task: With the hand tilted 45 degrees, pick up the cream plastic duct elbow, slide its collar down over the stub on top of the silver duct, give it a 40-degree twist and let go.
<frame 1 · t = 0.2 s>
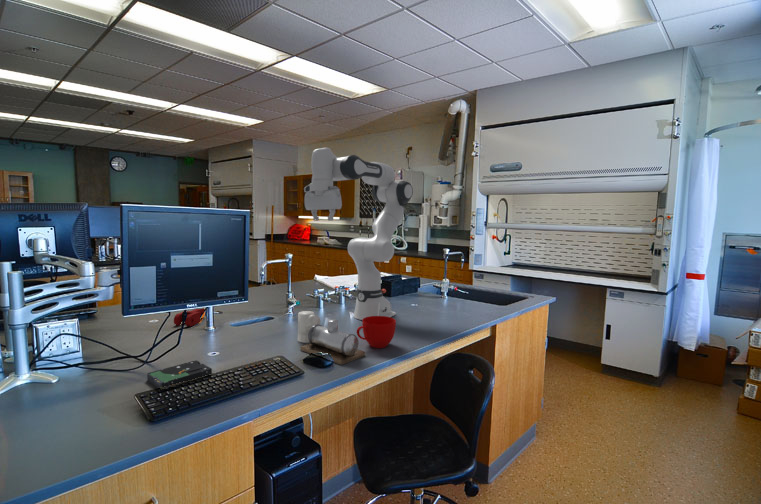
hand: (323, 220, 166), 47 cm above the lab bench, tool pointing down, fingers open, 8 cm apart
ceramic cup: (374, 346, 152), on the lab bench
dark red rounded piece: (192, 322, 178), on the lab bench
duct elbow: (306, 340, 157), on the lab bench
disk drive: (180, 379, 119), on the lab bench
duct: (332, 352, 144), on the lab bench
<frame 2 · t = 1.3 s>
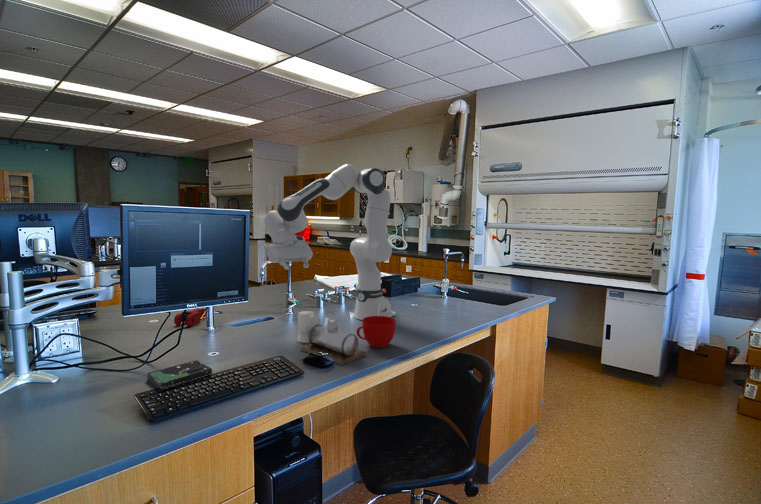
hand: (297, 267, 164), 27 cm above the lab bench, tool tilted 45°, fingers open, 8 cm apart
nothing on the lab bench moved.
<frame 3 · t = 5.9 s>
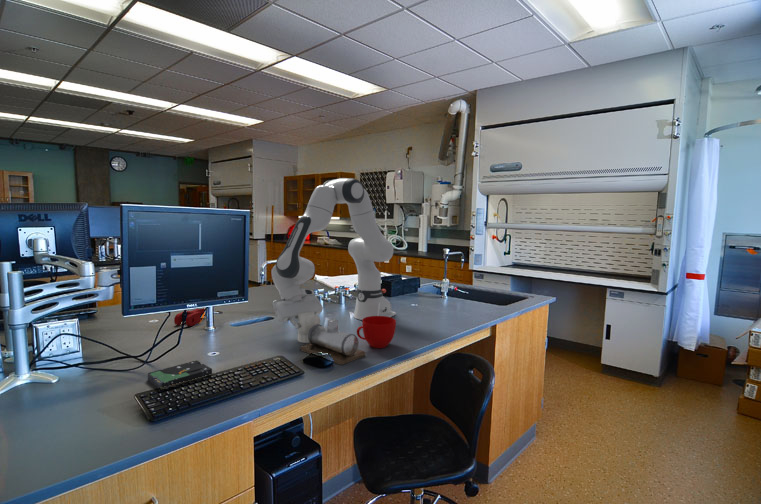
hand: (307, 326, 156), 6 cm above the lab bench, tool tilted 45°, fingers closed on duct elbow, 6 cm apart
duct elbow: (305, 340, 157), on the lab bench, touching gripper
everything else where it was.
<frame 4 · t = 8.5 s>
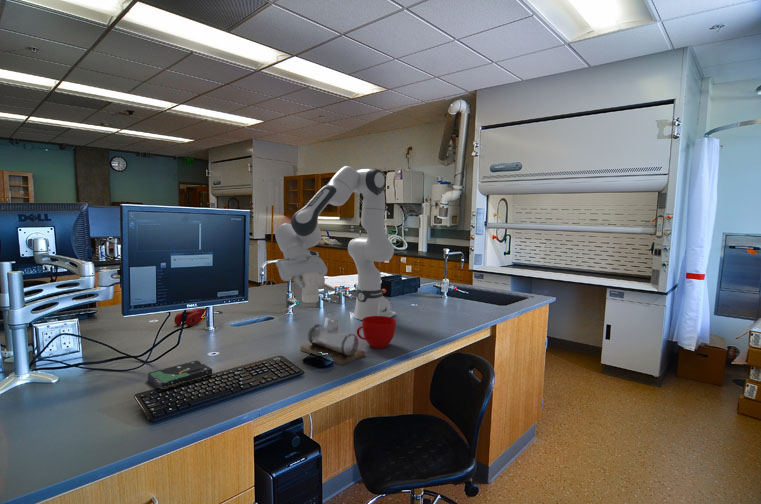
hand: (311, 286, 152), 22 cm above the lab bench, tool tilted 45°, fingers closed on duct elbow, 6 cm apart
duct elbow: (310, 300, 153), point 16 cm above the lab bench, touching gripper
everything else where it was.
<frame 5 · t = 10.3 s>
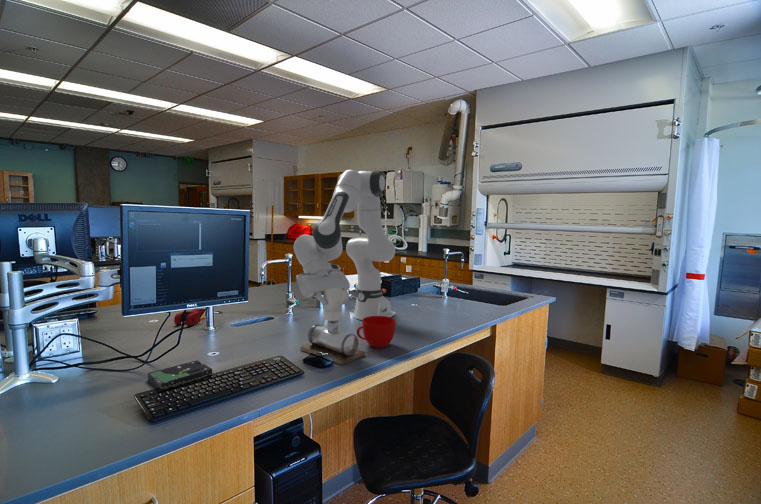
hand: (334, 302, 141), 19 cm above the lab bench, tool tilted 45°, fingers closed on duct elbow, 6 cm apart
duct elbow: (332, 318, 142), point 13 cm above the lab bench, touching gripper
everything else where it was.
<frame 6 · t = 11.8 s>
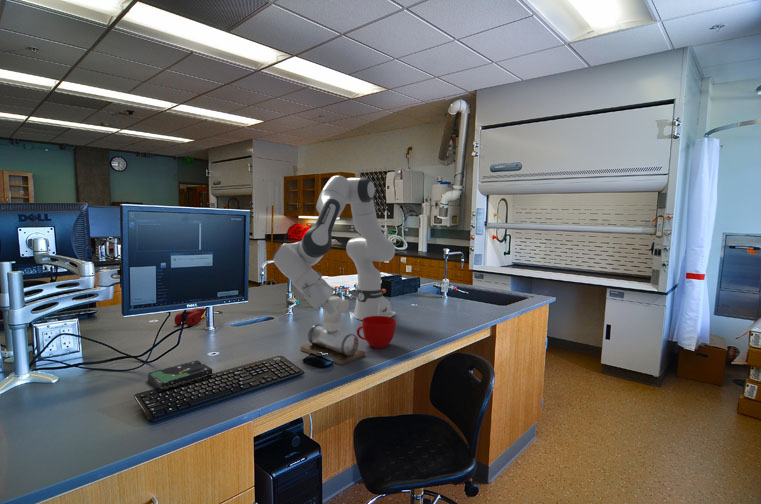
hand: (334, 310, 142), 16 cm above the lab bench, tool tilted 45°, fingers closed on duct elbow, 6 cm apart
duct elbow: (331, 328, 143), point 9 cm above the lab bench, touching duct, gripper
everything else where it was.
when the fingers open (15 cm above the lab bench, at t = 12.7 s): duct elbow stays where it is, resting on duct.
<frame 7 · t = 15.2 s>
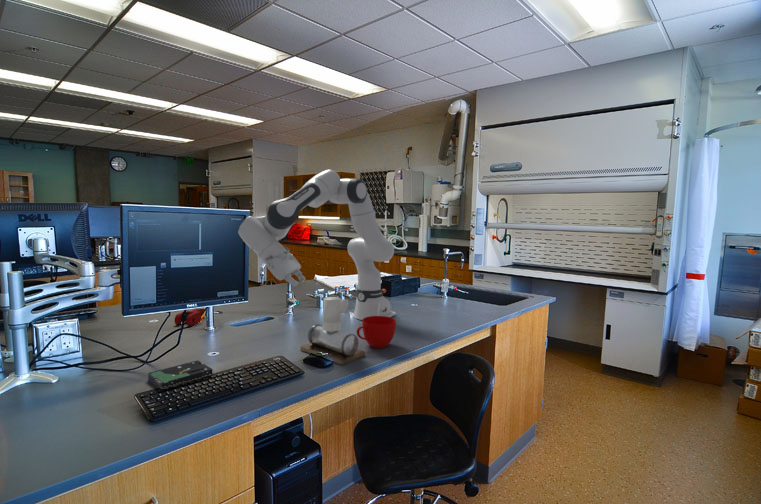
hand: (300, 283, 142), 25 cm above the lab bench, tool tilted 45°, fingers open, 8 cm apart
duct elbow: (331, 328, 143), point 9 cm above the lab bench, touching duct
everything else where it was.
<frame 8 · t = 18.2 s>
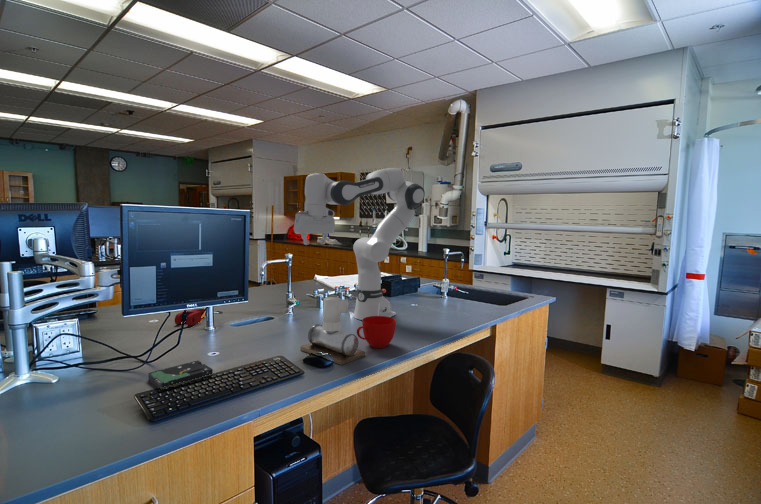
hand: (314, 244, 169), 37 cm above the lab bench, tool pointing down, fingers open, 8 cm apart
nothing on the lab bench moved.
at the end: duct elbow 0.4 cm off-centre on the duct, point 9.0 cm above the duct's base; duct elbow tilted 0°; the gripper is holding nothing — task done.
